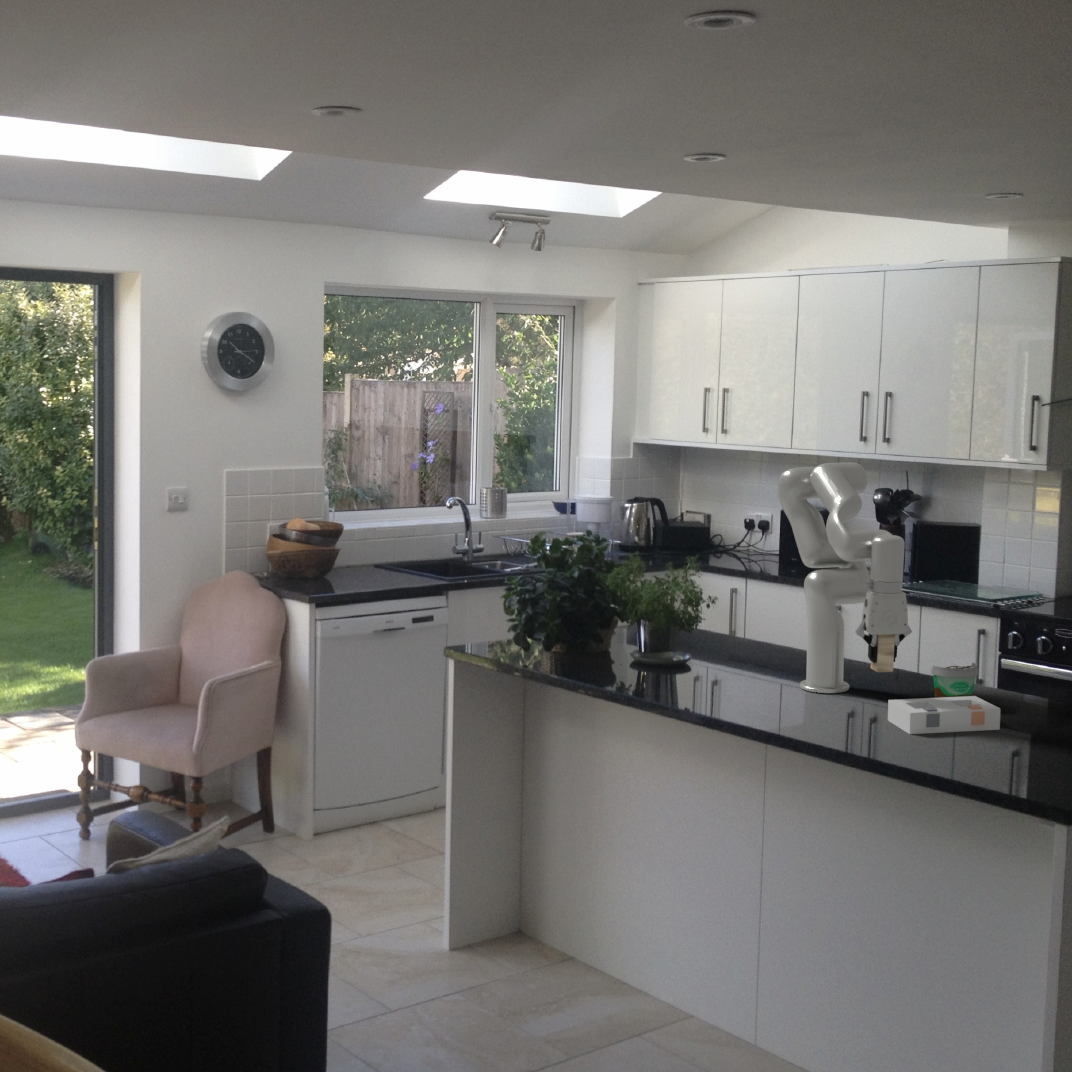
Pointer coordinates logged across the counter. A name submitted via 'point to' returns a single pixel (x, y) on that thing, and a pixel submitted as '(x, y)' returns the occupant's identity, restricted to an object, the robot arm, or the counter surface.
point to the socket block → (943, 715)
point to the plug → (884, 654)
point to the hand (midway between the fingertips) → (882, 660)
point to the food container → (954, 680)
